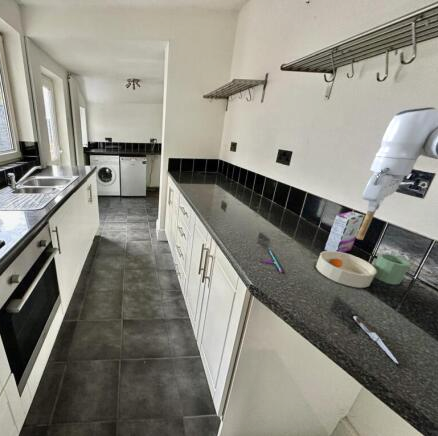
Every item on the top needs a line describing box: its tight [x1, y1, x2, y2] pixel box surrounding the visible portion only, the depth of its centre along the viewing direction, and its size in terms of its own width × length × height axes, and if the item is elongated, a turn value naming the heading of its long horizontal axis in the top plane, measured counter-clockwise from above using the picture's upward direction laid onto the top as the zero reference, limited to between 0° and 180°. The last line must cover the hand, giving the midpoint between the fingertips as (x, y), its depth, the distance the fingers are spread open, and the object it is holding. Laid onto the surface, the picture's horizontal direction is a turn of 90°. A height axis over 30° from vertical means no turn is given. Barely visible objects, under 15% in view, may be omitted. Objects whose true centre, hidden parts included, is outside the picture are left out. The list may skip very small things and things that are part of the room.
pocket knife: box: [352, 315, 400, 365], centre depth 56 cm, size 14×1×2 cm, turn 173°
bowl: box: [315, 250, 377, 288], centre depth 80 cm, size 15×15×6 cm
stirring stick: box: [356, 201, 380, 241], centre depth 75 cm, size 2×2×18 cm
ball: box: [331, 259, 343, 267], centre depth 84 cm, size 3×3×3 cm
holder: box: [372, 252, 412, 285], centre depth 79 cm, size 8×8×8 cm
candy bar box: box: [324, 211, 366, 253], centre depth 95 cm, size 11×5×16 cm, turn 114°
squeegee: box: [262, 250, 283, 274], centre depth 88 cm, size 15×1×5 cm
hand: (372, 210), depth 75 cm, fingers closed on stirring stick, 2 cm apart
